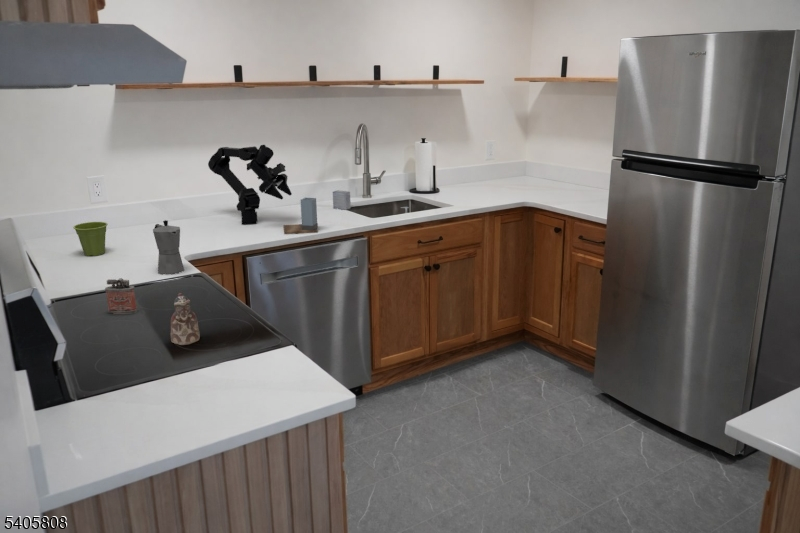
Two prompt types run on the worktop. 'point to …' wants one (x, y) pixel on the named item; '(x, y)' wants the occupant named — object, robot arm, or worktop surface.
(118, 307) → the lighter
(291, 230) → the pin board
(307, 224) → the sleeve
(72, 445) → the worktop surface
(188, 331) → the figurine
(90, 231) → the plant pot
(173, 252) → the coffeepot
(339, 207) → the medicine box
